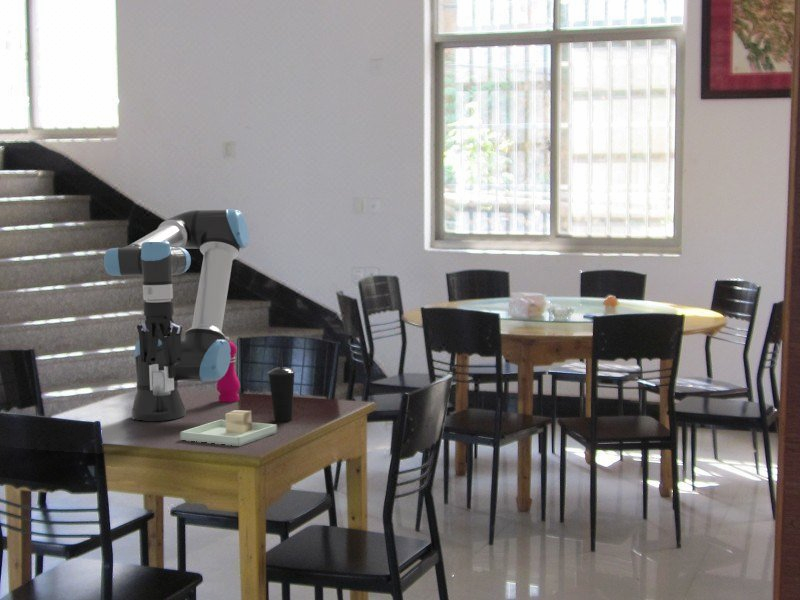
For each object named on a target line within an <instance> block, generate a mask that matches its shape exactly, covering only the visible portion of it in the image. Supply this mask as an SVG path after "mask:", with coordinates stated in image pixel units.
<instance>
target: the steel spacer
mask: <svg viewBox="0 0 800 600" xmlns="http://www.w3.org/2000/svg"><path fill="white" fill-rule="evenodd" d="M170 394H171V391H165V377H164V370H159V371H153V395H155V396H164V395H170Z"/></svg>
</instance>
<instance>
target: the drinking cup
mask: <svg viewBox="0 0 800 600" xmlns="http://www.w3.org/2000/svg"><path fill="white" fill-rule="evenodd" d="M295 374H296V370H294V369H293V368H290V367H286V366H283V348H279V367H275V368H273V369H271V370H269V371H267V375H268V379H269V387H270V393H271V401H272V408H273V410H272V411H273V416H274V421H275V422H280V423H281V422H283V423H284V422H289V421H292V420H293V406H294V390H295V389H294V385H295Z"/></svg>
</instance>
